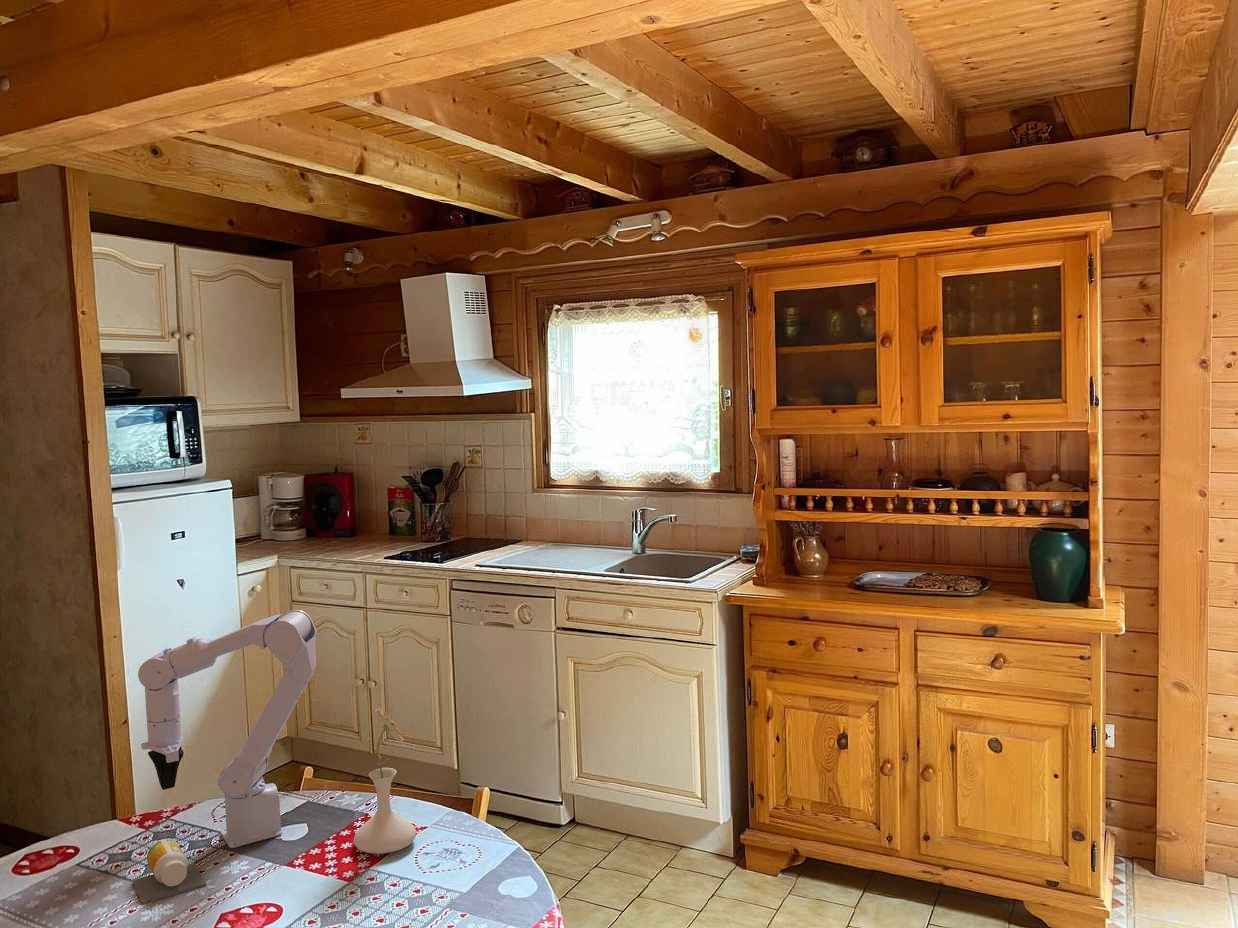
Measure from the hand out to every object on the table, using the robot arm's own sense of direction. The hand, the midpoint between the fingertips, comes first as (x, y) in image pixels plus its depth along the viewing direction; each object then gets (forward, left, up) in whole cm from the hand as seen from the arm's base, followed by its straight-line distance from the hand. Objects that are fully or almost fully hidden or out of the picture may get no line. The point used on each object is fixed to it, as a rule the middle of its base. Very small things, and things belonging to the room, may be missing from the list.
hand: (167, 787), depth 182 cm
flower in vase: (-32, +27, -10) cm, 43 cm away
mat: (+4, +19, -10) cm, 21 cm away
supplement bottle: (+3, +12, -7) cm, 14 cm away
